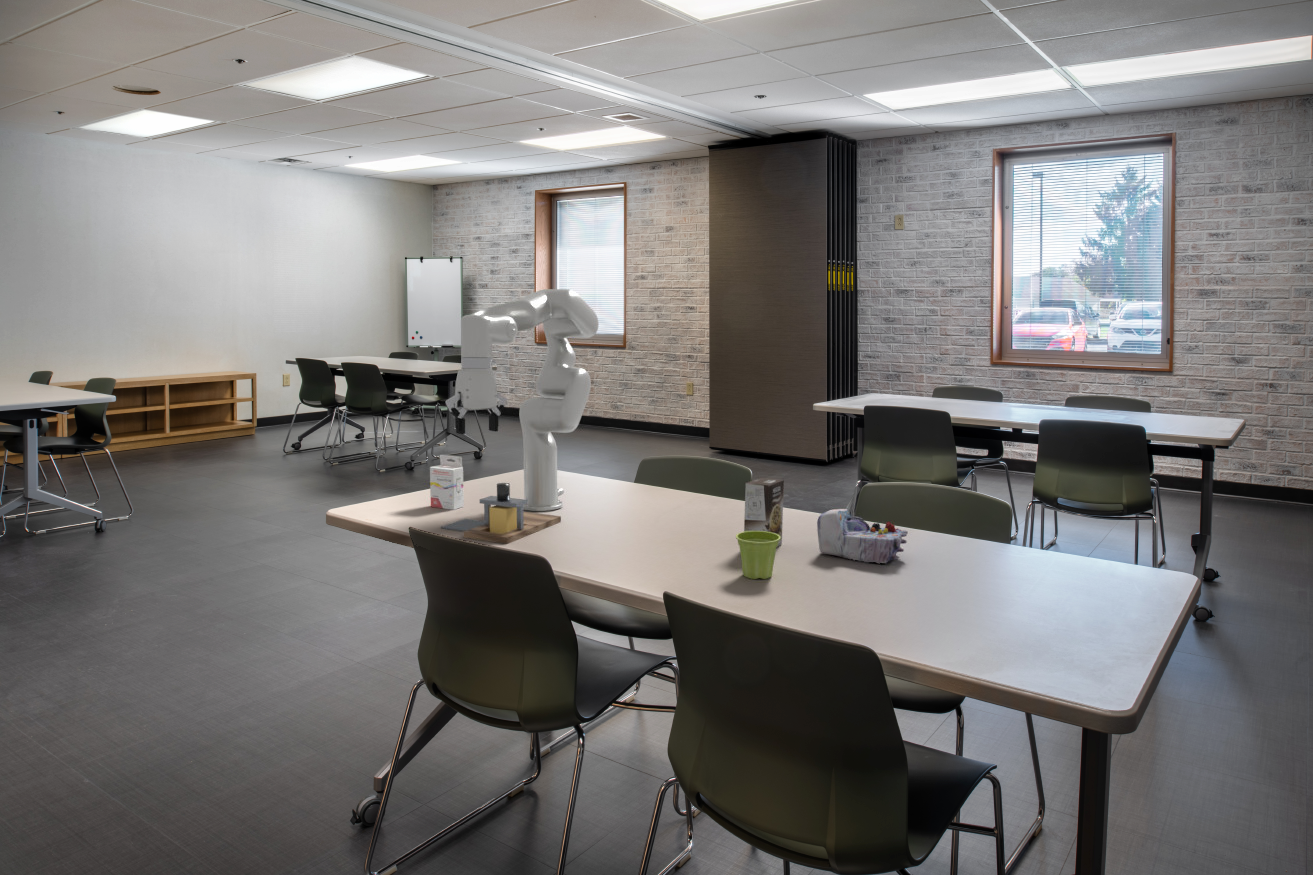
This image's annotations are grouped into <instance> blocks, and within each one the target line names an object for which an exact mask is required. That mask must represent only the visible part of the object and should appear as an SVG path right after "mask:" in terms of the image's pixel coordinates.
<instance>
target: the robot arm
mask: <svg viewBox="0 0 1313 875" xmlns="http://www.w3.org/2000/svg"><path fill="white" fill-rule="evenodd" d="M541 324H542V327H543V333H544V335H545V340H546V344H547V353H546V356H545V360H544V361H543V365H542V366H541V370H540V372H539V375H538V378H537V381H536V385H535V387H536V392H537V394H538V395H539V396H540V397H530V398H527V399H526V400H524V401H523V402H522V403H521V405H520V407H519V411H518V412H519V413H518V414H519V422H520V426H521V431H522V440H523V442H522V443H523V497H524V498H523V499H524V500H527V504H525V505H523V511H524V510H525V511H531V512H532V511H533V512H544V511H545V512H546V511H555V510H558V509H561V508H563V506H564V503H563V501H562V500H560V499H559V497H560V496H562V495H564V493H565V492H564V489H563V488H558V446H557V443H556V439H555V437H554V435H553V434H552V433H560V434H561V433H563V434H566V433H568V434H569V433H572V432H574V431H575V430H576V429H577V428H578V426H579V425H580V421H581V419H582V416H583V414H584V410H585V408H586V405H587V403H588V400H589V396H590V393H591V389H592V388H591V387H592V383H591V380H592V379H591V376H590V374H589V372H588V371H587V370H586V369H584V368H581V367H576V366H575V364H576V358H577V357H576V356H577V355H576V353H575V351H574V349H573V346H572V345H571V344H570V342H569V340H568V339H590V338H592V337H594V336H595V335H596V334H597V332H598V330H599V318H598V316H597V313H596V312H595V310H594V309H593V308H592V307H591V306H590V305H589V304H588V302H587V301H586V300H584V299H583V297H582V296H581V295H580V294H578V293H577V292H575V291H574V290H572V289H569V288H568V289H567V288H558V289H557V288H555V289H554V288H551V289H549V288H548V289H540V290H537V291H535V292H533V293H530V294H528V295H526V296H524V297H521V298H520V299H517V300H514V301H508V302H505V303H502V304H501V303H500V304H497V305H494V306H489V307H486V308H483V309H479V310H478V311H475V312H473V313H471V314H465V315H464V316H462V317H461V320H460V353H461V354H460V355H461V357H460V358H461V360H460V361H461V363H460V364H461V366H460V368H461V369H458V371H457V376H456V380H455V389H454V390H455V391H454V392H455V393H454V395H453V396H451V397H449V398H448V399H446V400H445V405H446V407H447V409H448V412H449V413H450V414H451V415H452V416H453V418H454V422H455V423H454V426H455V427H454V428H455V433H456V434H459V435H465V434H466V418H465V417H464V416H465V415H466V413H468V411H479V410H482V411H483V410H487V411H488V412H489V413H490V414H489V415H488V431H489V432H490V431H492V432H498V431H499V416H500V415H501V414H502V412H503V411H504V409H505V405H506V404H507V400H508V398H507V397H506V396H503V395H502V394H500V393H499V392H498V386H497V379H496V373H495V370H494V369H493V366H495V365H496V360H495V359H493V356H492V355H493V353H492V352H493V350H492V347H493V345H508V344H510V343H512V342H514V340H515V339H516V337H517V335H518V333H519V332H525V331H530V330H532V329H534V328H535V327H538V326H540V325H541Z"/></svg>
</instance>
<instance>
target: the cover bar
mask: <svg viewBox="0 0 1313 875" xmlns="http://www.w3.org/2000/svg"><path fill="white" fill-rule="evenodd" d="M510 486H511V485H510V482H498V483H496V495H488V496H486V497H482V498H480V499H479V504H481V505H482V504H483V505H484V506H483V512H484V513H483V517H484V520H483V521H485V525H490V507H492V506H496V505H498V506H507V507H515V508H517V529H520V530H521V529H524V520H523V512H524V509H523V505H525V504H527V500H524V498H521V499H520V498H513V497H511V491H510V490H511V488H510Z"/></svg>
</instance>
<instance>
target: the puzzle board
mask: <svg viewBox="0 0 1313 875" xmlns="http://www.w3.org/2000/svg"><path fill="white" fill-rule="evenodd" d="M523 520H524V529H521V530H520V529H514V530H512V531H509V532H507V533H504V534H500V533H492V532H490V525H485V524H483V525H481V526H478V527H475V528H472V529H470V530H467V531H462V532H463V538H464V539H471V540H477V541H478V540H479V541H485V542H493V543H501V544H510V543H513V542H515V541H518V540H520V539H522V538H525V537H528V536H530V535H532V534H534V533H536V532H540V531H542V530H545V529H547V528H549V527H551V526H553V525H557V524H559V523H561V522H562V516H560V515H554V514H544V513H536V512H527V511H523Z"/></svg>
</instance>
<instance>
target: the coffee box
mask: <svg viewBox="0 0 1313 875" xmlns="http://www.w3.org/2000/svg"><path fill="white" fill-rule="evenodd" d="M784 481H785V480H784V479H778V478H764V477H760V478H757V479H754V480H751V481H748V482H745V491H744V492H745V493H744V518H743V519H744V525H743V532H746V531H766V532H772V533H775V534H778V535H779V536H780V537H781V538H780V540H779V541H778V545H777V547H779V546H782V545H783V520H784V519H783V518H784V517H783V516H784V487H785V486H784ZM777 547H776V548H777Z"/></svg>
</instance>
